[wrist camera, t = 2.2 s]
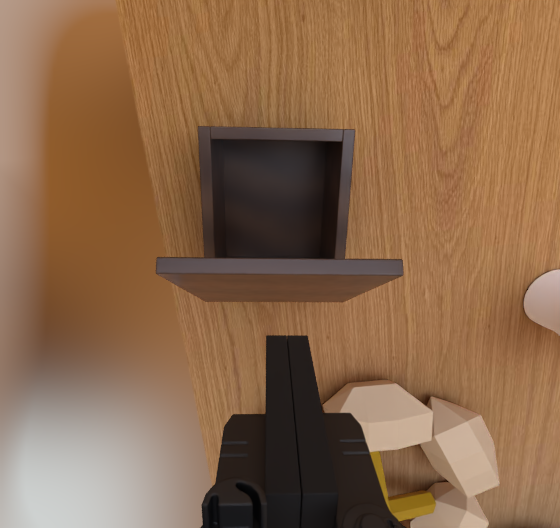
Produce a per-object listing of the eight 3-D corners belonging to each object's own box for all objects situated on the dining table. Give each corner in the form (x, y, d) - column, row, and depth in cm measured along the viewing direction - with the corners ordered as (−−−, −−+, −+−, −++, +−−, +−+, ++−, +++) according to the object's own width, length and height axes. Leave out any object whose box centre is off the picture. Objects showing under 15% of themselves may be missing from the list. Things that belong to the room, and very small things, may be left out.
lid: (156, 256, 19) (155, 273, 19) (403, 258, 20) (404, 275, 20) (205, 292, 35) (205, 301, 35) (342, 292, 35) (343, 302, 35)
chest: (214, 128, 40) (197, 126, 30) (334, 131, 40) (355, 129, 31) (219, 261, 45) (206, 294, 35) (326, 262, 45) (342, 295, 36)
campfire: (236, 379, 50) (221, 494, 34) (486, 356, 50) (589, 460, 34) (262, 556, 62) (261, 705, 45) (466, 537, 62) (536, 679, 46)
